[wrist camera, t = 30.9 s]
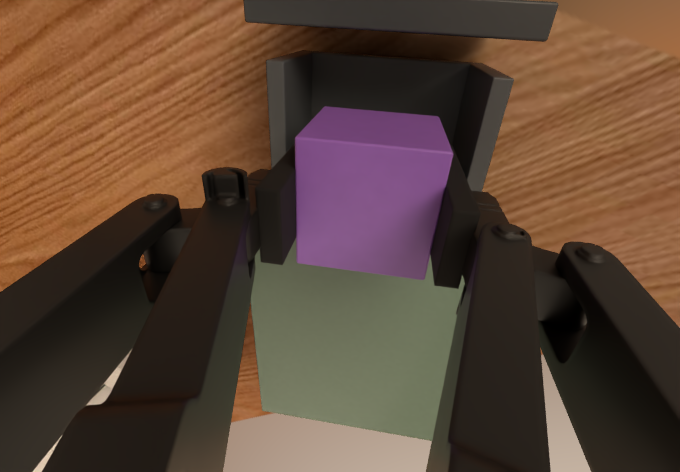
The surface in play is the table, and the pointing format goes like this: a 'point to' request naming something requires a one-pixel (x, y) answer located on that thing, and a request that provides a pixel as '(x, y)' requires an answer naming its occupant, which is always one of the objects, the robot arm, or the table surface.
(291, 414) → the drawer casing
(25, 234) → the table surface
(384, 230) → the violet rounded cube
